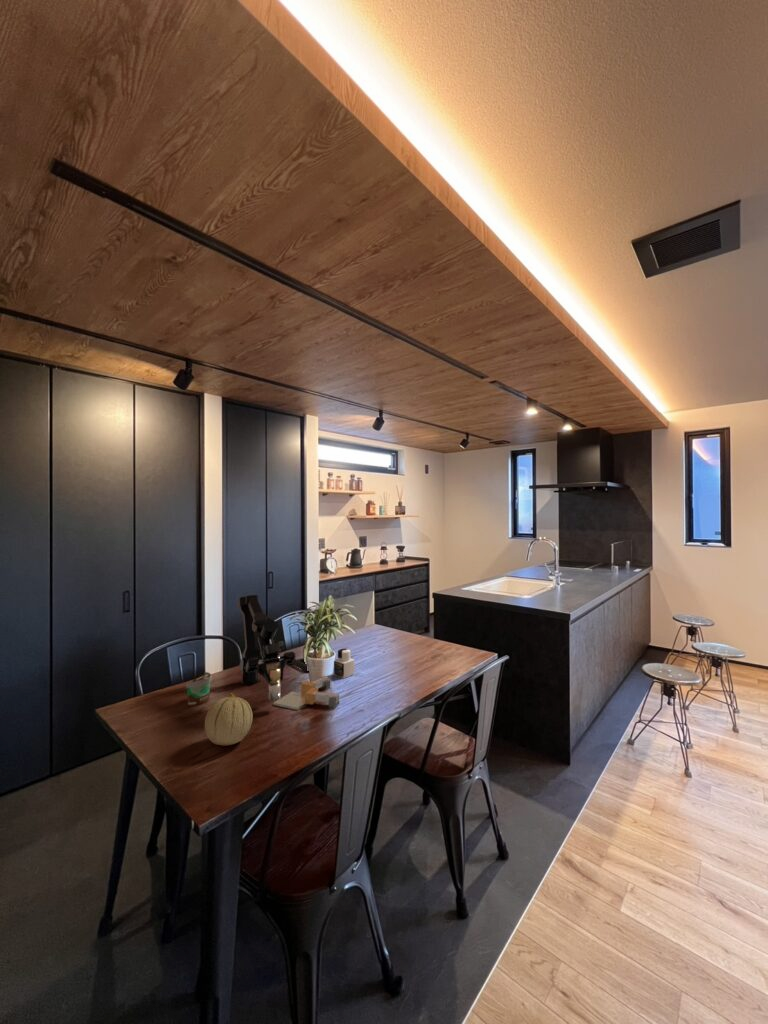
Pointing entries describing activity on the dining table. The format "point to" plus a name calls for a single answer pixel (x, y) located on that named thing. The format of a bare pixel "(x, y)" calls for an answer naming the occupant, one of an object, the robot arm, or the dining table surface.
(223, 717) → the cantaloupe
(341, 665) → the medicine bottle
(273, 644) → the robot arm
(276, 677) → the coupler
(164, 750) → the dining table surface
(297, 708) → the stand
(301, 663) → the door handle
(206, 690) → the food container
